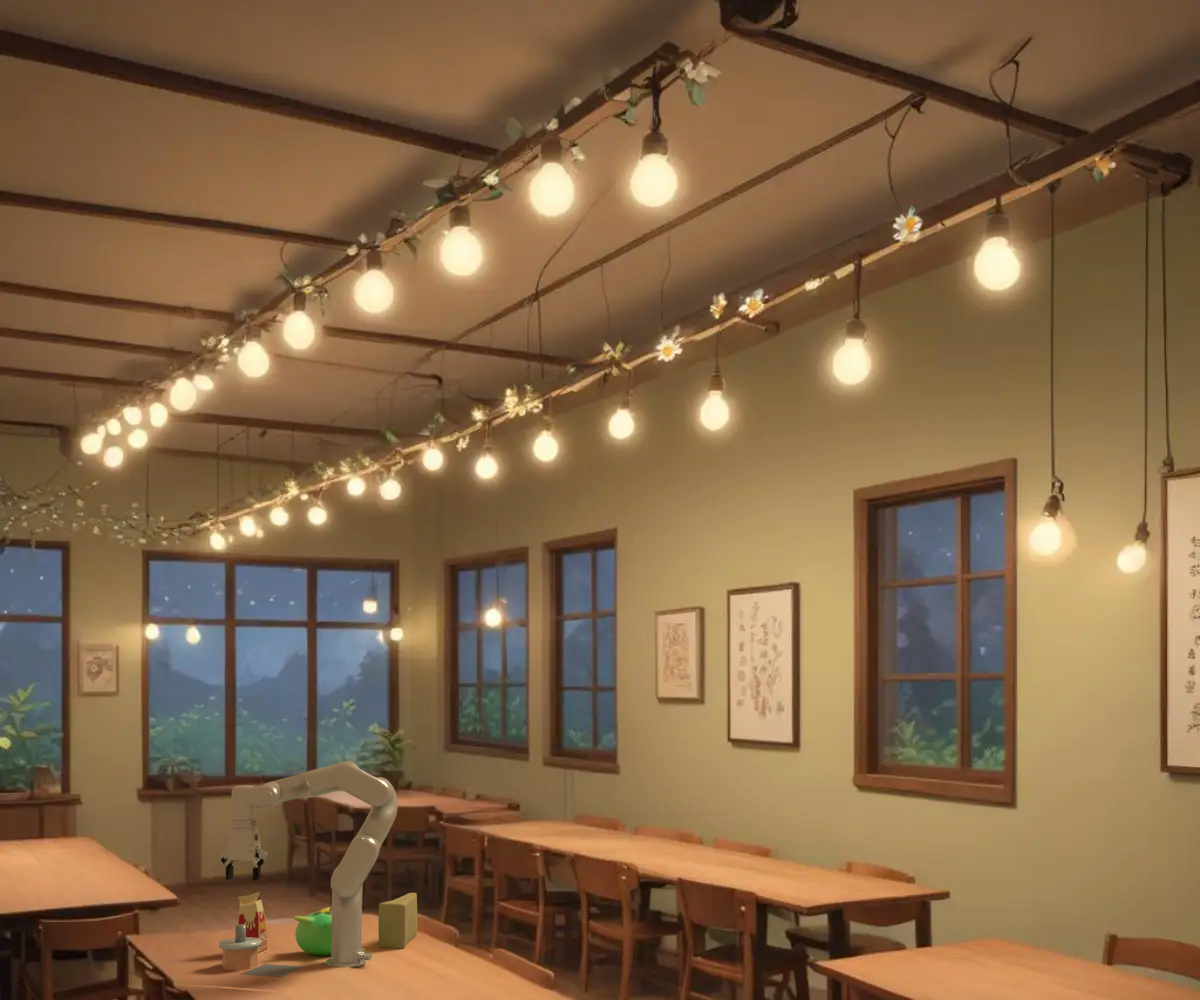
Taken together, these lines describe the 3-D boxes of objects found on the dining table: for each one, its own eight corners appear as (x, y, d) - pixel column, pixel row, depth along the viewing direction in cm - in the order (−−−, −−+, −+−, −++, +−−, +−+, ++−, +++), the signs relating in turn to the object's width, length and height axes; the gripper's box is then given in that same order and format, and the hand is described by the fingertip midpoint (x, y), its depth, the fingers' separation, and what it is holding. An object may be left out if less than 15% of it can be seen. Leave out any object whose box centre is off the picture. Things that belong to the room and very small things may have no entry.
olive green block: (402, 934, 466) (402, 891, 468) (428, 935, 464) (428, 892, 466) (377, 947, 445) (377, 902, 447) (404, 949, 443) (404, 903, 444)
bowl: (262, 965, 420) (262, 943, 420) (244, 972, 410) (245, 949, 411) (234, 963, 423) (235, 941, 423) (216, 970, 413) (217, 947, 414)
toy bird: (356, 949, 442) (356, 904, 444) (341, 961, 425) (342, 914, 427) (303, 949, 444) (304, 904, 445) (287, 960, 427) (288, 913, 429)
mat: (303, 968, 415) (303, 966, 415) (280, 978, 402) (280, 976, 402) (264, 965, 419) (264, 963, 419) (240, 975, 406) (240, 973, 406)
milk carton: (268, 951, 441) (269, 889, 443) (258, 957, 432) (260, 894, 434) (242, 950, 442) (243, 889, 444) (231, 956, 433) (233, 894, 435)
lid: (269, 942, 421) (269, 922, 422) (247, 950, 409) (247, 930, 410) (233, 940, 425) (234, 920, 426) (210, 948, 413) (211, 928, 414)
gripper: (273, 823, 423) (273, 878, 421) (226, 822, 428) (225, 876, 426) (260, 826, 416) (260, 882, 414) (213, 825, 421) (212, 880, 419)
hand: (243, 879), depth 420 cm, fingers open, 9 cm apart
